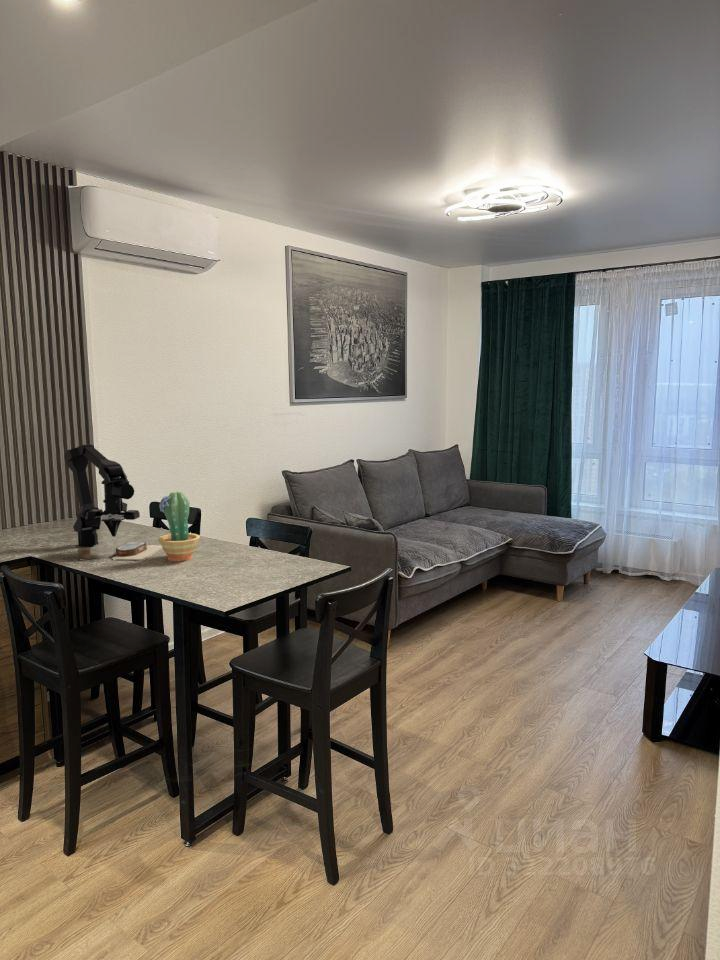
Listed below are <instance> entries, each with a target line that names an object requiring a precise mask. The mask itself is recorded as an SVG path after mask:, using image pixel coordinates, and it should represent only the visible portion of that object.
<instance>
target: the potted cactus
mask: <svg viewBox="0 0 720 960" xmlns="http://www.w3.org/2000/svg"><path fill="white" fill-rule="evenodd" d="M190 504H191V503H190V501H189V499H188V497H186V495H185V493H184V492H182V491H181V492H179V491H176V492H174V491H172V492H170V493H169V495H166V496H163V497H162V498H161V500H160V502H159V505H158V506H159V511H160V512H162V513H163V514H164V516H165V518H166V520H167V524H168V527H169V532H170V534H165V535H161V536H159V537H158V541H157V542H158V544H160V546H162V548H163V549H162V550H163V552H164V553H165V554H166V556H167V561H169V562H184V561H183V560H185V561H190V560H192V559H193V554H194V552H195V551H196V548H197V545H198V543H199V542H200V538H201V535H200V534H197V533H189V524H188V520H189V515H190ZM191 558H192V559H191ZM189 559H190V560H189Z"/></svg>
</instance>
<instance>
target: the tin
mask: <svg viewBox="0 0 720 960" xmlns="http://www.w3.org/2000/svg"><path fill="white" fill-rule="evenodd" d="M147 544H148V543H147V542H145V541H129V542H126V543H124V544H121V545H119V546H117V547H116V548H115V556H121V557H126V556H134V555H137V554H139V553H141V552H143V551H145V550H147Z"/></svg>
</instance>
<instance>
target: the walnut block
mask: <svg viewBox="0 0 720 960" xmlns="http://www.w3.org/2000/svg"><path fill="white" fill-rule="evenodd" d="M91 556H92V554H91V547H78V548H77V561H81V560H80V559H91V558H92V557H91ZM90 557H91V558H90Z"/></svg>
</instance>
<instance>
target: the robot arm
mask: <svg viewBox="0 0 720 960" xmlns="http://www.w3.org/2000/svg"><path fill="white" fill-rule="evenodd" d="M63 458H64V461H65V462H66V463H65V464H66V466H67V467H68V469H69V470H70V471H71V472H72V474H73V479H74V485H75V490H76V494H77V500H78V505H79V507H78V511H77V513H76V520H75V522H74V524H73V525H72V527H73V531H74V532H76V533H77V543H78V544H76V545H75V546H79V547H78V548H82V547H90V548H92V546H93V547H94V545H95V546H97V545H99V544H100V542H99V540H98V537H99V535H98V533H97V530H98V531H99V530H100V528H101V522H103V523H104V524H105V525H106V527H107V529H108V531H109V533H110V535H111V536H112V537H114V538H115V537H116V536H117V534H118V529H119V527H120V525H121V523H122V521H124V520H127V521H134V520H137V519H138V518H140V517H141V515H140V511H139V510H138V509H128V503H126V502H124V501H123V500H129V499H132V498H133V496H134V494H135V489H134V486H133V485H132V484H130V481H129V480H128V476H127V474H126V473H125V470H124V469H123V467H122V464H120V463H118V462H117V461H115V460H110V459H108V458H106V456H105V455H103V453H101V452H100V451H99V450H98V449H96V448H95V446H94V445H93V444H90V443H89V444H81V445H79V446H77V447H74V448H71V449H67V450H66V452H65V453H64V456H63ZM89 461H90V463H92V464H93V465H94V466H95V467H96V468H97V469H98V474H99V475H100V477H101V478H102V479H103V480H102V481H101V482H100V483H101V484H102V485H103V488H104V489H103V490H104V491H103V492H104V499H103V500H102V502H103V503H104V510H103V509H102V508H100V509H99V507H96V506H95V505H94V504H93V500H92V495H91V489H90V484H89V480H88V474H87V467H88V465H89ZM98 543H99V544H98ZM96 544H97V545H96Z"/></svg>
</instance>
